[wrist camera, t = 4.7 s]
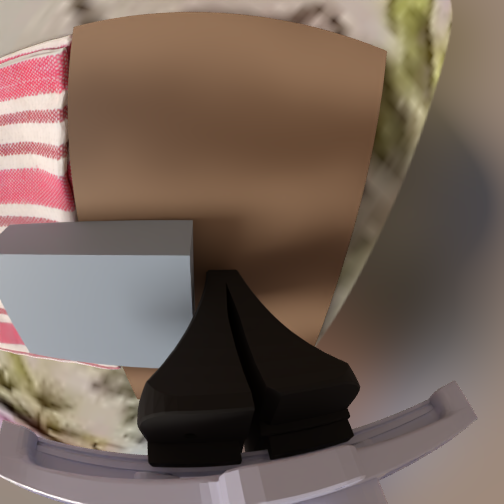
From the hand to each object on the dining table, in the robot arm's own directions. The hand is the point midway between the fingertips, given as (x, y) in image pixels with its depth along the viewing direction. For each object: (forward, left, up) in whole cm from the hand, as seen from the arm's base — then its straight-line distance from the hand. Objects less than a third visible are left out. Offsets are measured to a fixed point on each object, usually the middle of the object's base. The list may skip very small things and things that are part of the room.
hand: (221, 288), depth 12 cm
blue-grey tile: (0, +6, 0) cm, 6 cm away
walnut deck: (0, 0, -4) cm, 4 cm away
